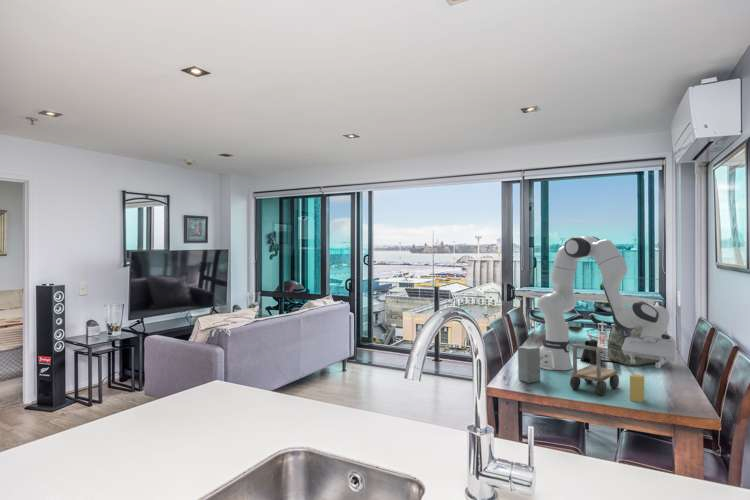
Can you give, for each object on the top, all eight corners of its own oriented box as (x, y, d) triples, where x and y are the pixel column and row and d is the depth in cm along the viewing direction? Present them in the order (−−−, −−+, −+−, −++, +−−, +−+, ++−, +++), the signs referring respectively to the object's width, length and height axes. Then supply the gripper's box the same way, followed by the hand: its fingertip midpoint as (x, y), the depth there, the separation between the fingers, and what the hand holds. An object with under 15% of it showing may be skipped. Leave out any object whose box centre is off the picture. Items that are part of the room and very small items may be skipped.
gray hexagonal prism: (528, 383, 205) (528, 349, 205) (516, 379, 212) (516, 346, 212) (541, 381, 209) (541, 347, 209) (529, 377, 216) (529, 344, 216)
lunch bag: (630, 368, 230) (630, 325, 230) (602, 359, 248) (601, 320, 247) (667, 363, 239) (667, 322, 238) (637, 355, 256) (637, 317, 256)
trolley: (570, 390, 196) (569, 343, 196) (589, 380, 209) (589, 337, 209) (600, 397, 186) (600, 348, 186) (619, 386, 199) (618, 341, 199)
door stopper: (602, 363, 239) (602, 341, 239) (594, 365, 236) (594, 342, 236) (588, 360, 247) (587, 338, 247) (580, 361, 245) (580, 339, 245)
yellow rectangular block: (630, 400, 182) (629, 375, 182) (633, 398, 185) (633, 373, 185) (640, 402, 179) (640, 377, 179) (644, 400, 182) (644, 375, 182)
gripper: (624, 331, 200) (616, 356, 194) (677, 337, 185) (670, 365, 178) (628, 339, 203) (620, 365, 197) (680, 346, 188) (674, 374, 181)
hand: (644, 365), depth 187 cm, fingers open, 8 cm apart
